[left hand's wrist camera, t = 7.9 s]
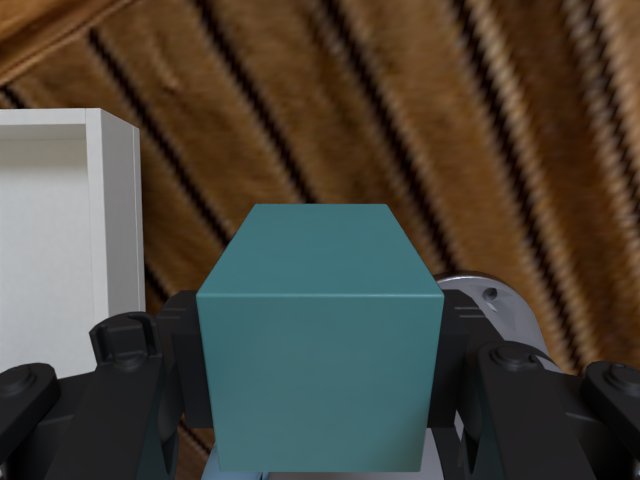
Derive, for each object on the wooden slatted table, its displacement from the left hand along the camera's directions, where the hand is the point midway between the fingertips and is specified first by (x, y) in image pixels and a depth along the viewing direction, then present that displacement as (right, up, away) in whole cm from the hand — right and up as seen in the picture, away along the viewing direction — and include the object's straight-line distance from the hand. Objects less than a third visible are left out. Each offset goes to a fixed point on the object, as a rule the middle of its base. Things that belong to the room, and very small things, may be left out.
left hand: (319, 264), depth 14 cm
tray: (-21, -3, +14) cm, 25 cm away
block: (0, 0, 0) cm, 0 cm away
